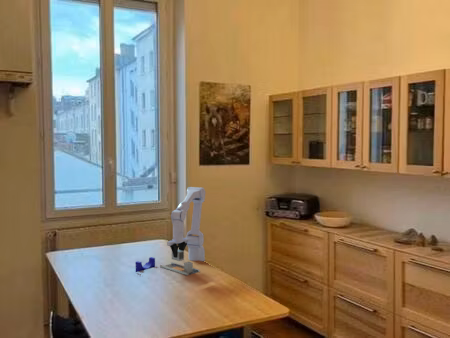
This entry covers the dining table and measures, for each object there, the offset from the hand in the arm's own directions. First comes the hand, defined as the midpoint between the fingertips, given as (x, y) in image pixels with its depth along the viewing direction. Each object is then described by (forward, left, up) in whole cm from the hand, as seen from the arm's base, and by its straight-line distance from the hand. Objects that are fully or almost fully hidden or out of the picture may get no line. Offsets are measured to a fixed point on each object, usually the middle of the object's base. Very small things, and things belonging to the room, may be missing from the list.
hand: (178, 256), depth 255 cm
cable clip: (+11, -16, -9) cm, 21 cm away
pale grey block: (0, 0, -2) cm, 2 cm away
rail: (0, +1, -8) cm, 8 cm away
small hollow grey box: (0, +8, -7) cm, 11 cm away
